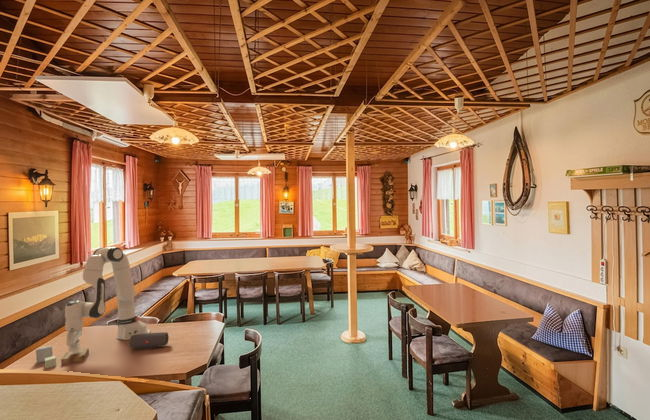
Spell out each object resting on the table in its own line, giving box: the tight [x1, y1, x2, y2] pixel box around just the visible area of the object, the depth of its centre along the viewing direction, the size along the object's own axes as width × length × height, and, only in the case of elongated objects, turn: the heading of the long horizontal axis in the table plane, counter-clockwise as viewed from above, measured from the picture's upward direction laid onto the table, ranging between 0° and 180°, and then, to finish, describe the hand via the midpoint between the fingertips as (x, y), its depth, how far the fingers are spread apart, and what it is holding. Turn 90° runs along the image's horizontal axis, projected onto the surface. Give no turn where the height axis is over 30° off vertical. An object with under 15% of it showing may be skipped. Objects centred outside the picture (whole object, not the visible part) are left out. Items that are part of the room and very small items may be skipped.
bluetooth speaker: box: [129, 331, 170, 350], centre depth 229 cm, size 23×9×10 cm, turn 99°
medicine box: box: [35, 344, 54, 364], centre depth 214 cm, size 8×4×9 cm, turn 129°
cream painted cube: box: [68, 339, 81, 352], centre depth 215 cm, size 5×5×5 cm
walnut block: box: [60, 348, 90, 366], centre depth 215 cm, size 12×12×4 cm
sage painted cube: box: [44, 355, 57, 369], centre depth 206 cm, size 5×5×5 cm
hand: (74, 347), depth 215 cm, fingers closed on cream painted cube, 5 cm apart
